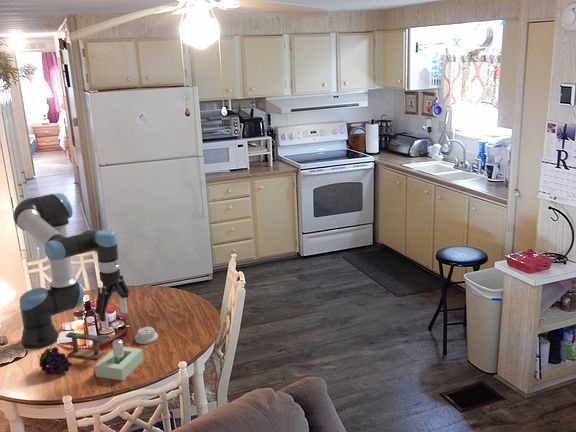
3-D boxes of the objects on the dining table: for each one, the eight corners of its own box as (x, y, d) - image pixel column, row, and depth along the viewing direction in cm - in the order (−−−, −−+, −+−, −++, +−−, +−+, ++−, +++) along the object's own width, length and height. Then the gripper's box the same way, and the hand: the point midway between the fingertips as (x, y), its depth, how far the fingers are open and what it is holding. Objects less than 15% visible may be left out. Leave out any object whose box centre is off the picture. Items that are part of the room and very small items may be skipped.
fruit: (63, 383, 223) (28, 373, 225) (77, 366, 233) (44, 356, 234) (63, 364, 219) (28, 353, 220) (78, 347, 228) (44, 337, 229)
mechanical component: (131, 343, 248) (152, 345, 246) (130, 334, 247) (151, 336, 245) (141, 333, 258) (161, 334, 256) (140, 324, 256) (160, 325, 254)
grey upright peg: (113, 370, 227) (110, 343, 223) (118, 365, 230) (115, 338, 227) (122, 371, 226) (119, 344, 222) (127, 366, 229) (124, 339, 226)
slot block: (96, 376, 222) (94, 365, 221) (118, 356, 237) (117, 345, 236) (123, 380, 219) (121, 369, 218) (143, 359, 234) (142, 349, 233)
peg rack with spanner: (66, 355, 239) (64, 336, 236) (74, 349, 243) (71, 331, 241) (104, 360, 234) (102, 341, 232) (111, 354, 239) (108, 335, 236)
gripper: (99, 283, 204) (105, 335, 210) (134, 259, 227) (139, 307, 233) (81, 281, 206) (87, 333, 212) (118, 258, 229) (123, 305, 235)
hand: (114, 319), depth 222 cm, fingers open, 13 cm apart
